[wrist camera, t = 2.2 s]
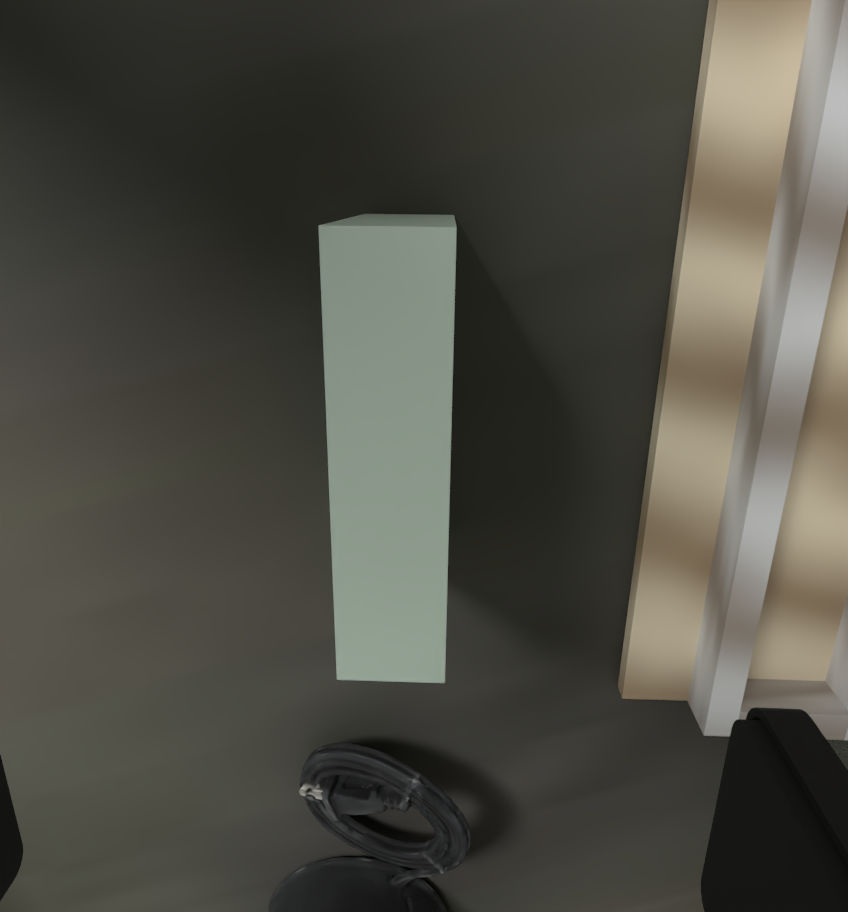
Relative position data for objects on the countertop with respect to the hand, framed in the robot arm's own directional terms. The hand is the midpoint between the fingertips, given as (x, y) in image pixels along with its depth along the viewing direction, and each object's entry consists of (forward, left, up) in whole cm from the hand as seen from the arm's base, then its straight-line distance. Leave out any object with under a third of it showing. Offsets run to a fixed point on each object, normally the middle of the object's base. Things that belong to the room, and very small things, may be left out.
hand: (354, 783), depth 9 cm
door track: (0, +15, -18) cm, 23 cm away
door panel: (0, 0, -18) cm, 18 cm away
